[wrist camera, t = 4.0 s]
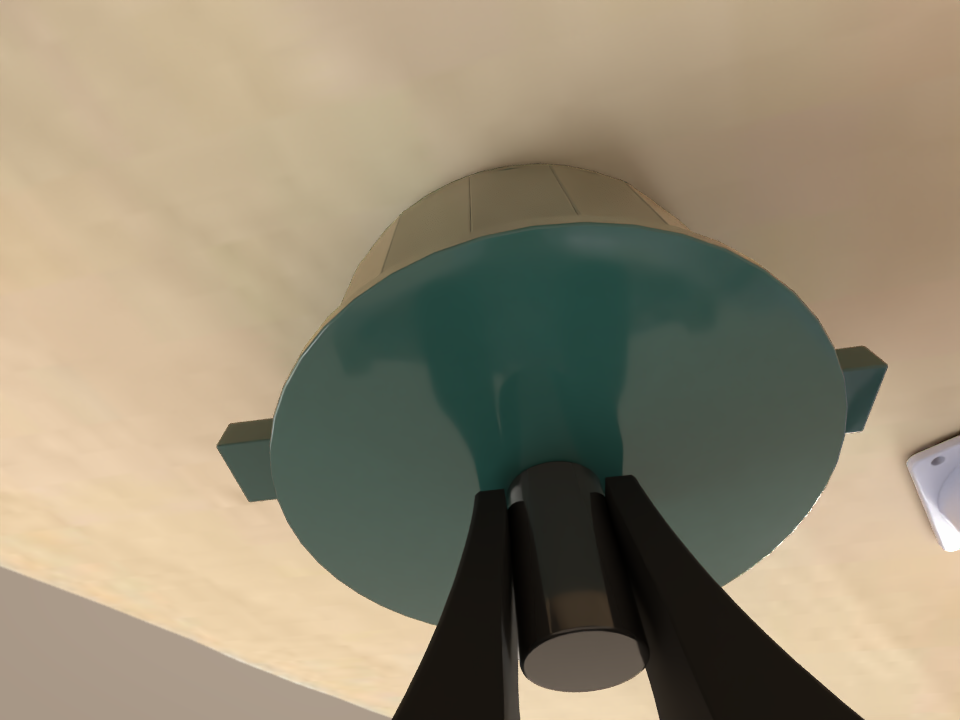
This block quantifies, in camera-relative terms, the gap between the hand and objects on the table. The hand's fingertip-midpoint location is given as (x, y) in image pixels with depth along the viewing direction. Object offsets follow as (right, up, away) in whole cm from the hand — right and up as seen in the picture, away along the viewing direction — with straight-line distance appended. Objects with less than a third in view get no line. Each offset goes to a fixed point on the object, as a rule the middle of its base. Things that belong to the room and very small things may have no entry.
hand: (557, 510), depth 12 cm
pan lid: (0, +1, +1) cm, 1 cm away
